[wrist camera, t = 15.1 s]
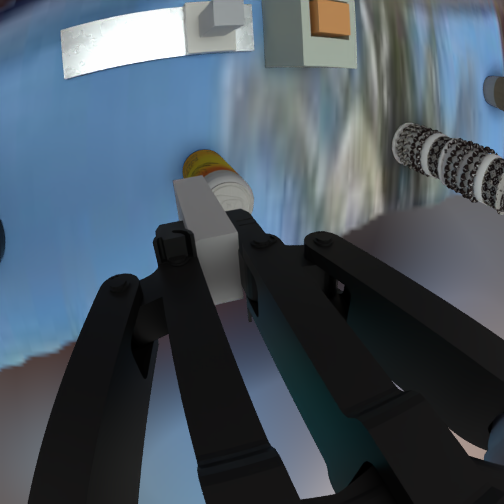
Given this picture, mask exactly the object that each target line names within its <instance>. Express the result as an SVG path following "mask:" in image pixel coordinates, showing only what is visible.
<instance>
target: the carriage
mask: <svg viewBox="0 0 504 504" xmlns="http://www.w3.org/2000/svg"><path fill="white" fill-rule="evenodd" d="M183 9H184V26H185V41H186V55H191V54H201V53H213V52H227V51H235V50H237V49H236V33H235V30H236V29H238V28H240V27H242V26H244V25H245V19H244V3H243V0H212V1H207V2H191V3H185V4H184V6H183Z"/></svg>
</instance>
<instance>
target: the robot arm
mask: <svg viewBox="0 0 504 504" xmlns="http://www.w3.org/2000/svg"><path fill="white" fill-rule="evenodd" d="M173 185H174V191H175V198H176V204H177V210H178V216H179V221H177V222H172V223H167V224H162V225H159V227H158V228H157V230H156V231H155V232H156V237H155V238H154V240H153V246H154V250H155V254H156V259H157V263H158V268H157V270H156V271H155V272H154V273H152V274H151V275H150V276H148V277H146V278H144V279H141V280H139V279H138V278H137V277H136V276H135V275H132V274H118V275H115V276H112V277H110V278H109V279H108V280H106V281H105V282H104V283H103V284H102V285H101V287H100V289H99V291H98V293H97V295H96V298H95V300H94V302H93V304H92V306H91V309H90V311H89V313H88V316H87V318H86V320H85V323H84V325H83V327H82V330H81V332H80V335H79V337H78V339H77V342H76V345H75V347H74V350H73V352H72V355H71V357H70V360H69V362H68V365H67V368H66V371H65V373H64V376H63V379H62V382H61V384H60V387H59V391H58V393H57V396H56V399H55V402H54V405H53V408H52V411H51V415H50V418H49V421H48V424H47V427H46V431H45V434H44V438H43V441H42V445H41V448H40V452H39V456H38V460H37V464H36V468H35V472H34V477H33V481H32V485H31V490H30V494H29V500H28V504H138V497H139V486H140V475H141V465H142V456H143V446H144V438H145V430H146V423H147V415H148V408H149V401H150V394H151V387H152V381H153V374H154V368H155V363H156V357H157V351H158V345H159V344H158V339H159V338H161V337H163V336H165V335H167V334H169V339H170V344H171V349H172V355H173V361H174V365H175V370H176V375H177V380H178V385H179V389H180V394H181V399H182V403H183V408H184V412H185V416H186V420H187V424H188V428H189V432H190V436H191V440H192V444H193V448H194V452H195V455H196V459H197V464H198V468H197V471H198V477H199V481H200V485H201V489H202V492H203V495H204V499H205V502H206V504H504V340H503V339H502V338H500V337H499V336H497V335H496V334H494V333H493V332H492V331H490V330H489V329H487V328H486V327H484V326H483V325H481V324H480V323H478V322H477V321H475V320H474V319H472V318H471V317H469V316H468V315H466V314H465V313H463V312H462V311H460V310H459V309H457V308H456V307H454V306H453V305H451V304H450V303H448V302H446V301H445V300H443V299H442V298H440V297H439V296H437V295H435V294H434V293H432V292H431V291H429V290H428V289H426V288H424V287H423V286H421V285H420V284H418V283H416V282H415V281H413V280H412V279H410V278H408V277H407V276H405V275H404V274H402V273H400V272H399V271H397V270H395V269H394V268H392V267H390V266H388V265H387V264H385V263H384V262H382V261H380V260H379V259H377V258H375V257H374V256H372V255H370V254H369V253H367V252H365V251H363V250H362V249H360V248H358V247H356V246H355V245H353V244H352V243H350V242H348V241H346V240H345V239H343V238H341V237H339V236H338V235H335V234H333V233H329V232H325V231H321V232H320V231H318V232H314V233H310V234H309V235H307V236H306V237H305V239H304V245H284V243H283V242H282V241H281V240H280V239H279V238H278V237H277V236H275V235H272V234H266V233H265V232H264V231H263V230H262V228H261V227H260V226H259V224H258V223H257V222H256V221H255V219H253V217H252V215H251V214H250V213H249V212H247V211H245V210H243V209H235V210H230V211H224V209H223V208H222V206H221V204H220V203H219V201H218V200H217V198H216V196H215V195H214V193H213V191H212V190H211V188H210V187H209V185H208V183H207V182H206V180H205V179H204V177H203V175H201V176H195V177H189V178H184V179H178V180H173ZM4 249H5V236H4V230H3V226H2V223H1V221H0V261H1V259H2V257H3V254H4ZM338 281H340V282H341V283H343V284H344V285H345V286H344V291H341V290H340V289H338V288H337V287H338V286H337V285H338ZM242 287H243V288H242ZM243 289H244V291H245V293H246V298H247V309H248V320H249V322H251V321H252V319H251V317H253V319H254V321H255V323H256V325H257V327H258V329H259V332H260V334H261V336H262V338H263V340H264V342H265V344H266V346H267V348H268V350H269V352H270V354H271V356H272V358H273V360H274V362H275V364H276V366H277V368H278V370H279V372H280V374H281V376H282V378H283V380H284V382H285V384H286V386H287V388H288V390H289V392H290V394H291V396H292V398H293V400H294V402H295V404H296V406H297V408H298V410H299V412H300V414H301V416H302V418H303V420H304V422H305V424H306V425H307V428H308V429H309V431H310V433H311V435H312V437H313V439H314V441H315V443H316V445H317V447H318V449H319V451H320V453H321V455H322V456H323V458H324V460H325V463H326V465H327V469H328V475H329V479H330V482H331V485H332V487H333V489H334V491H335V493H336V494H333V495H328V496H322V497H315V498H309V499H302V500H300V498H299V496H298V494H297V492H296V489H295V487H294V485H293V483H292V481H291V479H290V477H289V475H288V472H287V470H286V468H285V466H284V464H283V462H282V460H281V458H280V456H279V454H278V452H277V451H276V449H275V448H273V447H272V446H271V445H270V443H269V442H268V439H267V437H266V435H265V432H264V430H263V428H262V425H261V423H260V421H259V418H258V416H257V413H256V411H255V408H254V406H253V404H252V401H251V399H250V396H249V394H248V391H247V389H246V386H245V384H244V381H243V379H242V376H241V374H240V371H239V368H238V366H237V363H236V361H235V358H234V356H233V353H232V350H231V348H230V345H229V343H228V340H227V337H226V335H225V332H224V329H223V327H222V324H221V321H220V319H219V316H218V313H217V310H216V307H215V305H217V304H221V303H225V302H230V301H234V300H238V299H242V298H243ZM392 381H393V382H394V383H395V384H396V385H398V386H399V387H400V388H401V389H402V390H404V391H401V390H399V389H398V388H397V387H396V386H395V384H394V383H393V382H392ZM449 429H450V430H452V431H453V432H454V433H456V434H457V435H458V436H460V437H461V438H463V439H464V440H466V441H468V442H469V443H471V444H473V445H475V446H477V447H479V448H482V449H484V450H487V452H486V454H485V455H484V460H481V459H478V458H474V457H471V456H469V455H468V454H467V453H466V451H465V450H464V448H463V447H462V446H461V444H460V443H459V442H458V440H457V439H456V438H455V436H454V435H453V434H452V432H451V431H450V430H449Z"/></svg>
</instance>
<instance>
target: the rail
mask: <svg viewBox="0 0 504 504" xmlns="http://www.w3.org/2000/svg"><path fill="white" fill-rule="evenodd" d="M244 19H245V25H244V26H242V27H240V28H238V29H236V30H235V33H236V49H237V50H235V51H227V52H246V51H254V38H253V21H252V5H251V4H244ZM61 45H62V58H63V69H64V78H65V79H70V78H74V77H78V76H81V75H85V74H89V73H93V72H97V71H101V70H106V69H110V68H115V67H120V66H124V65H130V64H135V63H140V62H146V61H152V60H159V59H166V58H173V57H181V56H190V55H186V41H185V26H184V9H183V7H176V8H166V9H158V10H151V11H144V12H138V13H132V14H127V15H121V16H116V17H111V18H107V19H102V20H98V21H94V22H89V23H86V24H82V25H78V26H74V27H71V28H67V29H64V30H61ZM213 53H225V52H213ZM201 54H211V53H201ZM191 55H200V54H191Z"/></svg>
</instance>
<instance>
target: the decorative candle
mask: <svg viewBox="0 0 504 504" xmlns="http://www.w3.org/2000/svg"><path fill="white" fill-rule="evenodd" d="M392 152H393V155H394V158H395V159H396V160H397V162H398V163H401V164H403V165H404V166H406V165H409V168H410V169H412V168H414V170H415V171H417V172H420V173H421V174H423V175H425V174H426V176H427V177H429V176H432V177H434V178H438V179H440V180H441V182H442V183H443V184H444V185H446V186H447V187H448V188H451V189H452V190H454V191H455V192H456V193H458V192H459V193H461V194H462V196H463V197H464V198H468V199H469V200H470V201H471V202H478V201H479V202H481V203H483V204H485V205H487V206H488V205H489V206H490V207H492V208H494V209H496V210H497V213H498V214H500V215H503V214H504V159H502V158H501V157H500V156H498V154H497V153H496V154H495V151H494V150H493V149H490V148H489V147H485V148H484V147H483V146H479V144H475V143H474V144H473V142H472V141H468V142H467V141H466V140H462V139H461V138H453V139H452V138H449V137H448V136H446V135H444V134H442V133H441V132H438V131H437V130H432V129H431V128H427V127H425V126H423V125H421V126H420V125H419V124H414V123H405V124H403V125H401V126H400V127H399V128H398V129H397V131H396V132H395V134H394V137H393V140H392ZM488 153H491V154H488ZM457 188H458V189H457ZM466 192H467V194H466ZM473 196H474V197H473Z"/></svg>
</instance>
